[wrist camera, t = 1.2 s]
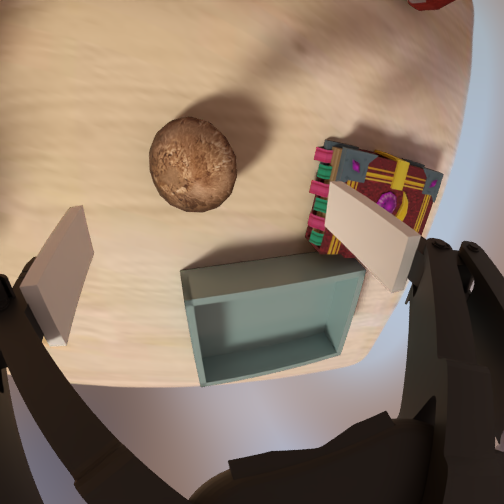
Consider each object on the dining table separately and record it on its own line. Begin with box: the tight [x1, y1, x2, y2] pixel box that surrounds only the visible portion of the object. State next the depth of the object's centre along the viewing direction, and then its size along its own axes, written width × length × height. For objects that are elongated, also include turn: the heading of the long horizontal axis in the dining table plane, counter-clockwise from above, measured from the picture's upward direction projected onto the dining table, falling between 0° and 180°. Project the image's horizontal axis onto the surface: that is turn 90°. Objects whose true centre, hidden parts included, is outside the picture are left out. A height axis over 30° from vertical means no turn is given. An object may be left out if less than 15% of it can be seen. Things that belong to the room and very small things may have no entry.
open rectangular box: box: [180, 252, 366, 387], centre depth 35 cm, size 20×15×5 cm
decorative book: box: [305, 140, 443, 258], centre depth 31 cm, size 11×16×5 cm
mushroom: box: [149, 117, 237, 212], centre depth 23 cm, size 8×8×6 cm
